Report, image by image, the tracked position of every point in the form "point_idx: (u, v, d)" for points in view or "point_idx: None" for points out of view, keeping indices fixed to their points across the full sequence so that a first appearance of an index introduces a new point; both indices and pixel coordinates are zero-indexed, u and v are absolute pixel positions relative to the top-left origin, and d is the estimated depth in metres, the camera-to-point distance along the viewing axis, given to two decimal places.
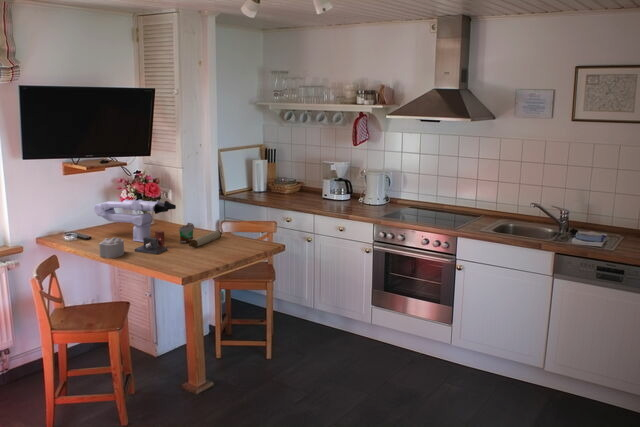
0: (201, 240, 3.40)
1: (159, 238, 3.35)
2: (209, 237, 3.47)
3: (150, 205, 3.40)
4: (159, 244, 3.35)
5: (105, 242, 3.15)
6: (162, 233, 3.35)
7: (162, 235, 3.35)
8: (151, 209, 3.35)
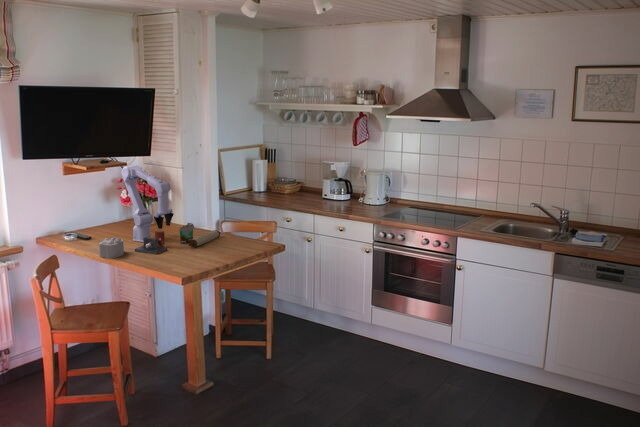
0: (200, 240, 3.40)
1: (159, 238, 3.35)
2: (208, 237, 3.47)
3: (162, 207, 3.34)
4: (159, 244, 3.35)
5: (105, 242, 3.15)
6: (162, 233, 3.35)
7: (162, 235, 3.35)
8: (156, 215, 3.31)
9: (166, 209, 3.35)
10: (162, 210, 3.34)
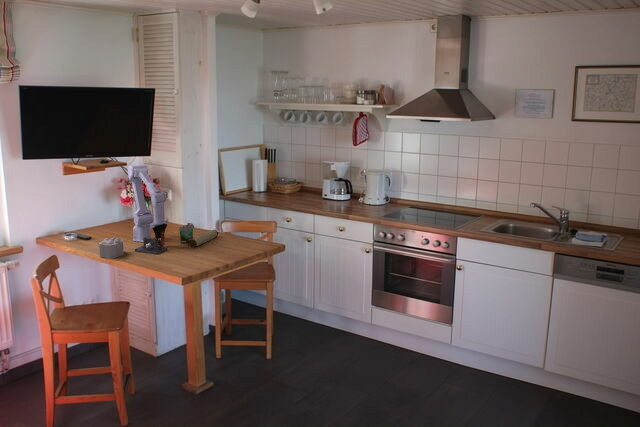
0: (200, 240, 3.40)
1: (159, 238, 3.35)
2: (207, 237, 3.48)
3: (158, 217, 3.31)
4: (159, 244, 3.35)
5: (105, 242, 3.15)
6: (162, 233, 3.35)
7: (162, 235, 3.35)
8: (151, 226, 3.28)
9: (162, 219, 3.32)
10: (158, 220, 3.31)
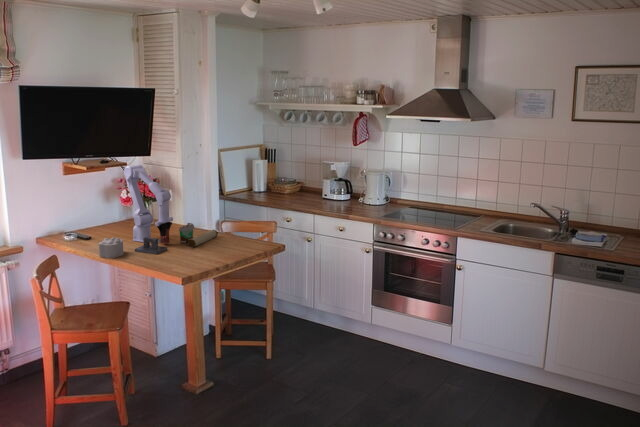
0: (199, 240, 3.41)
1: (164, 236, 3.39)
2: (206, 237, 3.48)
3: (163, 215, 3.35)
4: (164, 242, 3.40)
5: (104, 242, 3.15)
6: (167, 231, 3.39)
7: (167, 234, 3.40)
8: (156, 224, 3.32)
9: (167, 218, 3.36)
10: (163, 219, 3.36)
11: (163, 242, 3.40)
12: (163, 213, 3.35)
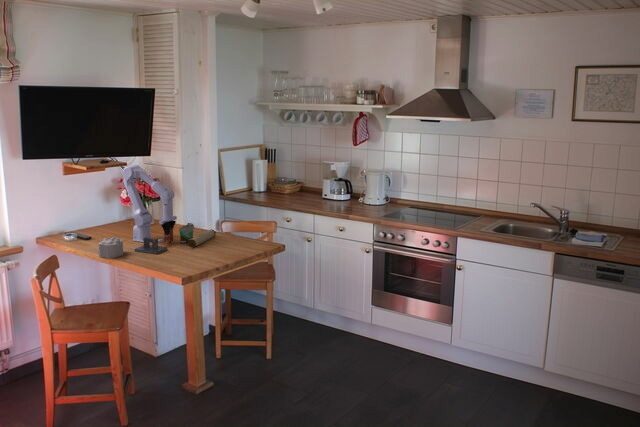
0: (198, 240, 3.41)
1: None
2: (205, 236, 3.48)
3: (167, 214, 3.39)
4: (168, 240, 3.43)
5: (104, 242, 3.15)
6: (171, 230, 3.43)
7: (171, 232, 3.43)
8: (160, 222, 3.36)
9: (170, 216, 3.40)
10: (166, 217, 3.39)
11: (167, 240, 3.43)
12: (167, 212, 3.38)
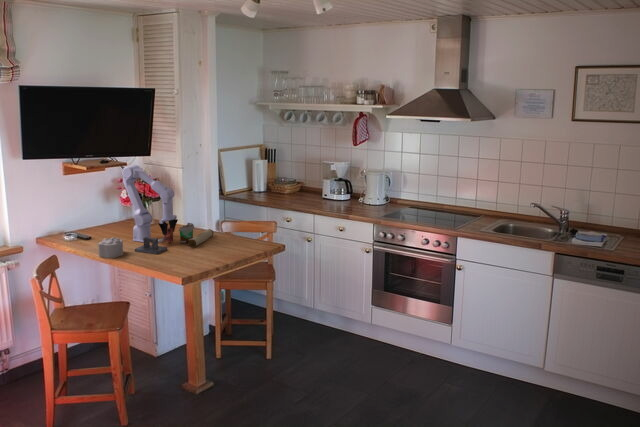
0: (198, 239, 3.41)
1: (168, 234, 3.42)
2: (204, 236, 3.48)
3: (166, 213, 3.38)
4: (168, 240, 3.43)
5: (104, 242, 3.15)
6: (171, 230, 3.43)
7: (171, 232, 3.43)
8: (160, 221, 3.35)
9: (170, 215, 3.40)
10: (166, 216, 3.39)
11: (167, 240, 3.43)
12: (167, 211, 3.38)
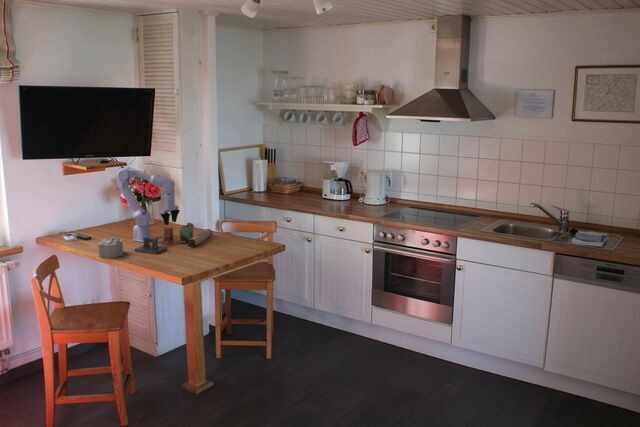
0: (198, 239, 3.41)
1: (168, 234, 3.42)
2: (203, 236, 3.48)
3: (168, 203, 3.43)
4: (168, 240, 3.43)
5: (104, 242, 3.15)
6: (171, 230, 3.43)
7: (171, 232, 3.43)
8: (162, 212, 3.40)
9: (172, 206, 3.44)
10: (168, 207, 3.43)
11: (167, 240, 3.43)
12: (169, 201, 3.42)
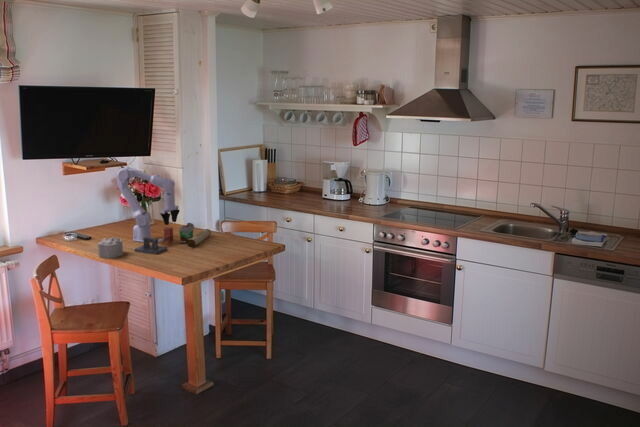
0: (197, 239, 3.41)
1: (168, 234, 3.42)
2: (203, 236, 3.49)
3: (168, 203, 3.43)
4: (168, 240, 3.43)
5: (104, 242, 3.15)
6: (171, 230, 3.43)
7: (171, 232, 3.43)
8: (162, 212, 3.40)
9: (172, 206, 3.44)
10: (168, 207, 3.43)
11: (167, 240, 3.43)
12: (169, 201, 3.42)
